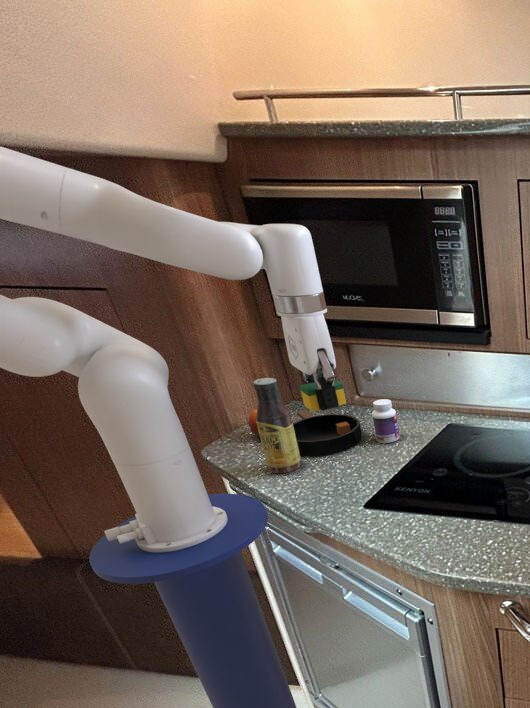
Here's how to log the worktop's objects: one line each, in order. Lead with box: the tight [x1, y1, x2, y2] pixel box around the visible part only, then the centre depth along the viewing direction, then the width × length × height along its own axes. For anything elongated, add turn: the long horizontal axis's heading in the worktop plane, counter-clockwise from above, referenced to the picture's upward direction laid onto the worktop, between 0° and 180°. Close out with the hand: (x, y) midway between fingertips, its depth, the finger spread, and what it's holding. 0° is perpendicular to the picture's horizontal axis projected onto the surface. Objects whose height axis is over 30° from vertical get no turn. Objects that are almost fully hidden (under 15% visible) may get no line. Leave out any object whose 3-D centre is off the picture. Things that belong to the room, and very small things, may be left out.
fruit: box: [248, 409, 260, 438], centre depth 120 cm, size 8×8×8 cm
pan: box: [293, 409, 363, 458], centre depth 121 cm, size 16×22×4 cm
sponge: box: [299, 378, 347, 413], centre depth 92 cm, size 6×4×4 cm, turn 136°
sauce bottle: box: [252, 377, 302, 474], centre depth 103 cm, size 6×6×20 cm
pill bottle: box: [371, 398, 401, 444], centre depth 120 cm, size 5×5×10 cm
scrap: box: [336, 422, 351, 435], centre depth 122 cm, size 2×2×2 cm
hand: (324, 403), depth 92 cm, fingers closed on sponge, 4 cm apart
